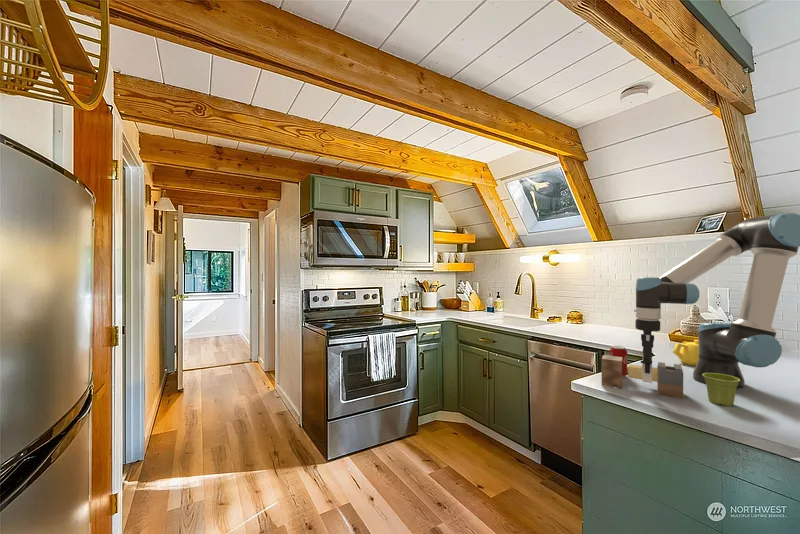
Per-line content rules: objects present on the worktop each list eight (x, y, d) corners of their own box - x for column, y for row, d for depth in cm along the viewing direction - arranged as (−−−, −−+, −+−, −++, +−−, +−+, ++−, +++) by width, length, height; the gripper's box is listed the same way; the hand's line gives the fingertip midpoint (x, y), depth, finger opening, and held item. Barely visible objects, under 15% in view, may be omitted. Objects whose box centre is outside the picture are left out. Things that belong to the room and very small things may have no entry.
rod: (680, 382, 128) (680, 370, 128) (681, 385, 124) (681, 373, 124) (626, 374, 137) (626, 364, 137) (626, 377, 133) (626, 366, 133)
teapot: (706, 358, 176) (706, 336, 176) (733, 369, 158) (733, 344, 158) (660, 356, 179) (660, 334, 179) (682, 367, 161) (683, 342, 161)
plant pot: (694, 398, 123) (694, 372, 123) (720, 397, 124) (720, 372, 124) (721, 408, 114) (721, 381, 114) (748, 407, 115) (748, 380, 115)
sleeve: (681, 392, 129) (681, 364, 128) (683, 398, 123) (683, 369, 123) (657, 388, 132) (657, 361, 132) (658, 394, 127) (658, 366, 127)
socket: (622, 383, 139) (622, 357, 139) (621, 388, 133) (621, 361, 133) (603, 380, 142) (603, 354, 142) (601, 385, 136) (601, 358, 136)
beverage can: (630, 378, 144) (630, 349, 144) (612, 377, 146) (612, 348, 146) (623, 374, 151) (623, 345, 151) (607, 373, 152) (607, 345, 152)
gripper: (636, 314, 144) (635, 367, 144) (635, 322, 123) (633, 384, 123) (659, 316, 139) (658, 370, 139) (662, 324, 119) (660, 388, 119)
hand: (646, 377), depth 131 cm, fingers open, 13 cm apart
